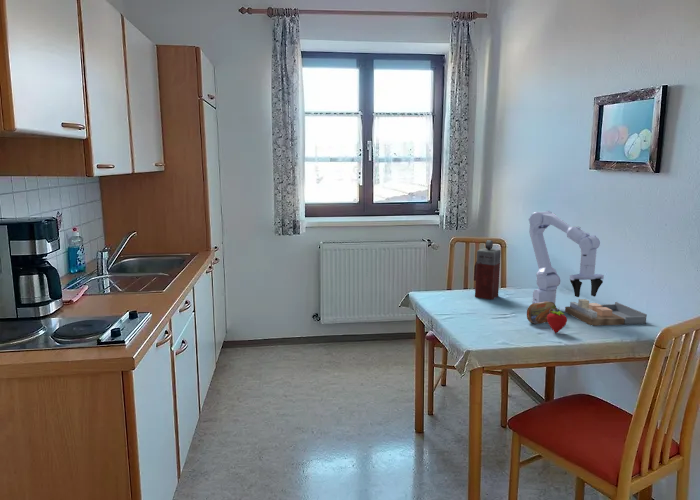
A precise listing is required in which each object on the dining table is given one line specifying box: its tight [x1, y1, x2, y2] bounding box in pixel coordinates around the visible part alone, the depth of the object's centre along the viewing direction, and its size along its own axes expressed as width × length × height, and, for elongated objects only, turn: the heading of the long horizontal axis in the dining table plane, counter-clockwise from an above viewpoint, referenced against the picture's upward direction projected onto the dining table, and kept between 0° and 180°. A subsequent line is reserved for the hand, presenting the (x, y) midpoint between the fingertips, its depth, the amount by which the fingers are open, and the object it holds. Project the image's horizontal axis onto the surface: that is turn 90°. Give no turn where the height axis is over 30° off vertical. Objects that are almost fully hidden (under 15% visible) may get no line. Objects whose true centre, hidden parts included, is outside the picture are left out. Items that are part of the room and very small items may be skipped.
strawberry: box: [547, 310, 568, 334], centre depth 206 cm, size 6×8×10 cm
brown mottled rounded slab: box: [526, 301, 558, 325], centre depth 220 cm, size 15×3×8 cm, turn 117°
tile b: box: [589, 302, 603, 311], centre depth 230 cm, size 4×4×2 cm
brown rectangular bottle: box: [473, 239, 502, 301], centre depth 261 cm, size 9×11×28 cm
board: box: [564, 306, 625, 326], centre depth 227 cm, size 14×20×2 cm
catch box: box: [601, 301, 648, 325], centre depth 228 cm, size 10×20×4 cm, turn 8°
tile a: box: [596, 307, 612, 316], centre depth 223 cm, size 4×4×2 cm
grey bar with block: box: [569, 298, 597, 318], centre depth 225 cm, size 3×17×6 cm, turn 8°
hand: (585, 296), depth 226 cm, fingers open, 7 cm apart
